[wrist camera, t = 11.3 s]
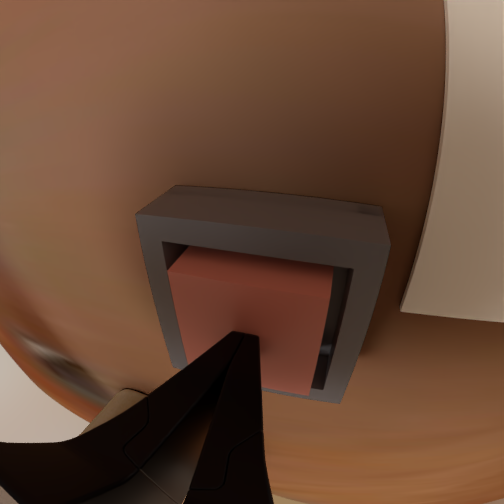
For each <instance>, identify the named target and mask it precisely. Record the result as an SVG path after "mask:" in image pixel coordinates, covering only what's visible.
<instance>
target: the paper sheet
mask: <svg viewBox="0 0 504 504" xmlns="http://www.w3.org/2000/svg"><path fill="white" fill-rule="evenodd" d="M444 9H445V28H446V74H445V94H444V107H443V118H442V127H441V136H440V143H439V150H438V157H437V163H436V169H435V175H434V181H433V186H432V191H431V196H430V201H429V205H428V210H427V214H426V218H425V223H424V227H423V231H422V235H421V239H420V242H419V246H418V250H417V253H416V257H415V260H414V264H413V267H412V270H411V274H410V277H409V280H408V283H407V286H406V289H405V292H404V295H403V298H402V301H401V304H400V312H408V313H416V314H425V315H434V316H443V317H452V318H461V319H471V320H482V321H493V322H504V0H444Z"/></svg>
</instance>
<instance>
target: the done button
mask: <svg viewBox="0 0 504 504" xmlns="http://www.w3.org/2000/svg"><path fill="white" fill-rule="evenodd" d="M333 269H334V266H331V265H324V264H317V263H310V262H303V261H296V260H289V259H282V258H275V257H268V256H261V255H254V254H247V253H240V252H233V251H226V250H219V249H212V248H205V247H199V246H192V245H190V246H189V247H188V248H187V249H186V250H185V251H184V252H183V254H182V255H181V256H180V257H179V258H178V259H177V260H176V261H175V263H174V264H173V265H172V266H171V267H170V268H169V269H168V271H167V272H168V278H169V283H170V288H171V293H172V297H173V302H174V307H175V311H176V316H177V320H178V325H179V329H180V333H181V338H182V342H183V346H184V350H185V354H186V358H187V362H188V365H189V364H190V363H191V362H193V361H194V360H195V359H196V358H198V357H199V356H200V355H202V354H203V353H204V352H206V351H207V350H208V349H209V348H211V347H212V346H213V345H214V344H216V343H217V342H218V341H220V340H221V339H222V338H223V337H225V336H226V335H227V334H228V333H230V332H231V331H238V332H243V333H245V334H253V335H258V336H259V338H260V360H261V385H262V387H264V388H269V389H274V390H279V391H284V392H289V393H295V394H300V395H306V396H309V393H310V389H311V385H312V381H313V376H314V372H315V368H316V364H317V359H318V355H319V351H320V346H321V341H322V337H323V332H324V327H325V322H326V317H327V312H328V307H329V301H330V295H331V287H332V278H333Z"/></svg>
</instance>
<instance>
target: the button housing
mask: <svg viewBox="0 0 504 504" xmlns="http://www.w3.org/2000/svg"><path fill="white" fill-rule="evenodd" d="M135 216H136V221H137V226H138V232H139V237H140V242H141V247H142V251H143V256H144V261H145V265H146V269H147V274H148V278H149V282H150V286H151V290H152V295H153V298H154V302H155V306H156V310H157V314H158V318H159V321H160V325H161V328H162V332H163V335H164V339H165V342H166V346H167V349H168V352H169V356H170V359H171V362H172V365H173V367H175V368H178V369H181V370H182V369H183V368H185V367H186V366H187V365H188V362H187V358H186V354H185V350H184V346H183V342H182V338H181V333H180V329H179V325H178V320H177V316H176V311H175V307H174V302H173V297H172V293H171V288H170V283H169V278H168V272H167V271H168V269H169V268H170V267H171V266H172V265H173V264H174V263H175V261H176V260H177V259H178V258H179V257H180V256H181V255H182V254H183V252H184V251H185V250H186V249H187V248H188V247H189V246H190V245H192V246H199V247H205V248H212V249H219V250H226V251H233V252H240V253H247V254H254V255H261V256H268V257H275V258H282V259H289V260H296V261H303V262H310V263H317V264H324V265H331V266H334V269H333V278H332V287H331V295H330V301H329V307H328V312H327V317H326V322H325V327H324V332H323V337H322V341H321V346H320V351H319V355H318V359H317V364H316V368H315V372H314V376H313V381H312V385H311V389H310V393H309V396H306V395H300V394H295V393H289V392H284V391H279V390H274V389H269V388H264V387H262V390H263V391H268V392H272V393H277V394H283V395H288V396H293V397H299V398H305V399H311V400H317V401H324V402H331V403H338V404H340V402H341V400H342V397H343V395H344V392H345V390H346V387H347V385H348V382H349V380H350V377H351V375H352V372H353V369H354V367H355V364H356V361H357V359H358V356H359V353H360V350H361V347H362V344H363V342H364V339H365V336H366V333H367V330H368V327H369V323H370V320H371V317H372V314H373V311H374V307H375V304H376V301H377V297H378V294H379V290H380V287H381V283H382V279H383V276H384V272H385V268H386V264H387V260H388V256H389V252H390V248H391V243H390V239H389V235H388V230H387V226H386V222H385V218H384V214H383V210H382V207H381V206H374V205H368V204H361V203H354V202H346V201H339V200H331V199H323V198H315V197H306V196H298V195H288V194H279V193H269V192H258V191H247V190H235V189H223V188H209V187H194V186H176V185H175V186H174V187H172V188H171V189H170V190H168V191H167V192H165V193H164V194H162V195H161V196H159V197H158V198H157V199H155V200H154V201H152V202H151V203H150V204H148V205H147V206H145V207H144V208H143V209H141V210H140V211H139V212H137V213H136V214H135Z"/></svg>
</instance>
